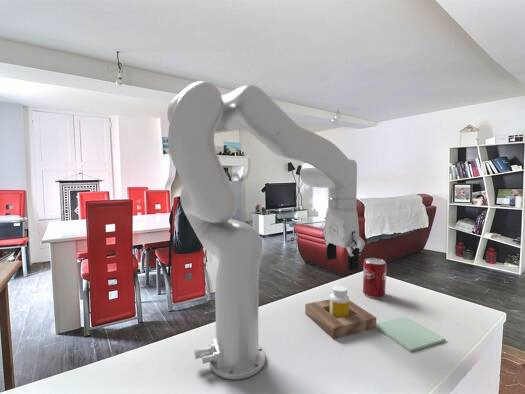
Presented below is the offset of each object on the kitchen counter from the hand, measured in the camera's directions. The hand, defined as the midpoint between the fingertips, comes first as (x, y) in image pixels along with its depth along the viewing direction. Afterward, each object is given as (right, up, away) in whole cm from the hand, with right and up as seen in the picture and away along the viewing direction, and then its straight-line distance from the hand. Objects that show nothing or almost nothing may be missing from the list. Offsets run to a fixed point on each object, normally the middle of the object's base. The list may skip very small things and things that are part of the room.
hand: (341, 264), depth 80 cm
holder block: (0, -16, +1) cm, 17 cm away
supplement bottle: (0, -17, +1) cm, 17 cm away
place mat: (+16, -17, -5) cm, 24 cm away
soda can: (+16, -15, +18) cm, 29 cm away
